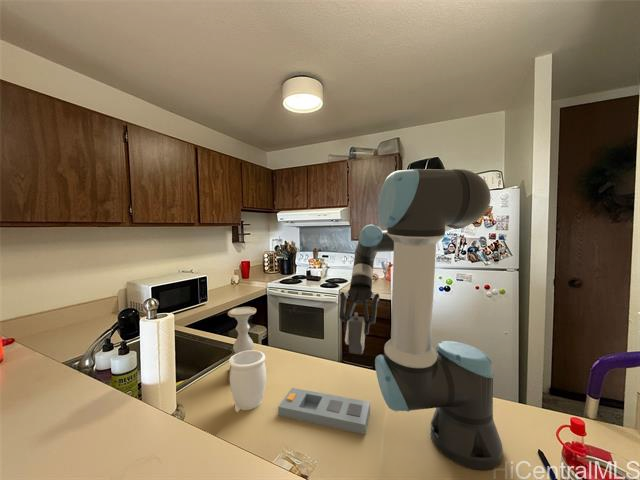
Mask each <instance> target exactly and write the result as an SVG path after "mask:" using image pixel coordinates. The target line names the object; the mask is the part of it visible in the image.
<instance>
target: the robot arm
mask: <svg viewBox="0 0 640 480" xmlns="http://www.w3.org/2000/svg"><path fill="white" fill-rule="evenodd" d="M491 195H492V194H491V191H490V188H489V185H488V183H487V182H486V181H485V180H484V179H483V178H482V176H480V175H479V174H477V173H475V172H473V171H472V170H467V169H463V168H462V169H461V168H457V169H456V168H452V169H434V168H433V169H431V168H428V169H427V168H425V169H424V168H423V169H421V168H414V169H413V168H411V169H410V168H409V169H402V170H401V169H400V170H396V171H393V172H392V173H390V174H389V175H388V176H387V177H386V179H385V180H384V182H383V185H382V187H381V190H380V194H379V198H378V204H377V213H378V221H379V223H380V225H381V226H382V227H383V228H386V230H382V229H381V227H379V226H378V225H374V224H367V225H365V226H364V227H363V228H362V229H361V230H360V234H359V237H358V242H357V245H356V247H355V250H354V257H353V259H354V260H353V266H352V270H351V271H352V272H351V279H350V286H349V288H348V291H347V292H345V291H341V292H340V297H341V301H340V309H339V317H338V318H339V319H340V322H343V327H342V328H343V332H344V333H345V335H344V336H345V337H344V342H345V345H348V346H349V326H348V321H349V319H350V318H351V316H353V315H354V312H355V308H356V306H357V304H362V306H363V308H362V309H363V317H364V322H362V332H361V342H360V343H361V346H364V347H365V339H366V336H368V335H369V333H370V332H369V331H370V325H375V324H376V320H377V313H378V311H377V310H378V303H379V302H380V299H381V298H380V294H379V293H374V292H373V291H372V289H373V277H374V275H373V274H374V273H373V272H374V265H375V264H374V263H375V258H376V257H377V254H378V253H381V252H383V253H385V252H386V253H387V252H393V256H392V257H393V260H392V261H393V262H392V265H393V266H392V293H391V295H392V297H391V324H390V325H391V328H390V329H391V330H390V339H389V340H388V341H387V342H385V344H384V346H383V347H384V348H383V354H379V355H376V357H375V358H374V359H375V360H374V367H375V373H376V378H377V382H378V387H379V389H380V392H381V395H382V398H383V401H384V402H385V404H386V406H387V407H388V408H389V409H390V410H391V411H394V412H410V411H417V410H419V411H420V410H427V409H429V410H430V409H435V410H434V413H433V416H432V418H431V419H430V438H431V440H432V442H433V444H434V446H435V447H436V448H437V449H438V450H439V452H441V454H443V455H444V456H445V457H446V458H448V459H449V460H451V461H452V462H454V463H456V464H458V465H460V466H462V467H465V468H468V469H470V470H471V469H472V470H477V471H488V470H489V471H490V470H494V469H495V468H497V467H498V466H500V465H501V463H502V461H503V455H504V454H503V449H504V448H503V444H502V439H501V437H500V434H499V431H498V429H497V427H496V424H495V421H494V414H493V413H494V395H493V392H494V388H493V387H494V377H495V376H494V372H493V363H492V359H491V357H489V355H488V354H486V352H484V351H483V350H481V349H479V348H476V347H475V346H473V345H470V344H468V343H467V344H466V343H463V342H460V341H453V340H441V341H439V342H438V343H437V344H436V347H435V348H436V350H435V348H433V346H432V345H431V343H432V326H433V324H432V323H433V307H434V292H435V291H434V287H435V274H436V273H435V271H436V257H437V255H436V254H437V243H438V242H439V241H440V240H442V239H443V238H444V237H445V236H446V232H448V231H450V230H452V229H454V230H458V229H459V230H460V229H463V228H466V227H467V226H470V225H472V224H473V223H475V222H476V223H477V222H478V221H479V220H480V219H482V217H484V216H485V214H486V213H487V211H488V209H489V208H490V205H491V199H492V196H491ZM349 297H350V303H349V305H348V307H347V299H348V298H349ZM371 298H372V305H371V306H372V307H371V314H370V315H371V316H370V315H369V310H368V309H369V308H368V301H369V300H370V299H371ZM346 307H347V310H346ZM369 316H370V317H369Z"/></svg>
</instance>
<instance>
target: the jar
mask: <svg viewBox="0 0 640 480" xmlns="http://www.w3.org/2000/svg"><path fill="white" fill-rule="evenodd" d="M265 361H266V354H265V352H264V351H260V350H256V349H252V350H247V351H242V352H239V353H235V354H234V355H232V356H230V358H229V361H228V363H229V367H230V366H231V370H230V384H229V386H230V390H231V396H232V399H233V401H234V403H235V405H234V411H235V413H238V412H239V411H241V410H243V411H248V410H252V409H255V408H257V407H259V406H260V405H261V403H262V401H263V398H264V395H265V392H266V391H265V390H266V382H267V369H266V363H265Z"/></svg>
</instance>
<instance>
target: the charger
mask: <svg viewBox="0 0 640 480" xmlns="http://www.w3.org/2000/svg"><path fill="white" fill-rule="evenodd" d="M362 322H365V317H364V316H359V313H358V312H356V311H353V315H352V316H351V318H350V319H349V321H348V326H349V345H348V353H349V354H355V355H363V353H364V350H365V345H364V346H361V343H360V342H361V332H362Z"/></svg>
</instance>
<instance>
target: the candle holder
mask: <svg viewBox="0 0 640 480" xmlns="http://www.w3.org/2000/svg"><path fill="white" fill-rule="evenodd" d="M256 313H257V308H255V307H252V306H241V307H240V306H239V307H235V308H232V309H230V310H228V312H227V316H229V317H230V318H234V319H235V320H236V321H237V325H236V327H235V330H236V332H237V333H238V335H237V337H236V340H235V341H234V344H233V347H232V348H233V349H232V350H233V351H234V353H235V354H237V353H239V352H242V351H247V350H254V347H255V346H254V345H255V344H254V341H253V339H252V338H251V337H250V335H249V334H248V332H249V330H250V328H251V325H250V324H249V323H248V321H249V319H250V317H251V316H252V315H255V314H256ZM230 370H231V366H230V365H229V369H228V376H227V384H228V385H230Z"/></svg>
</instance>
